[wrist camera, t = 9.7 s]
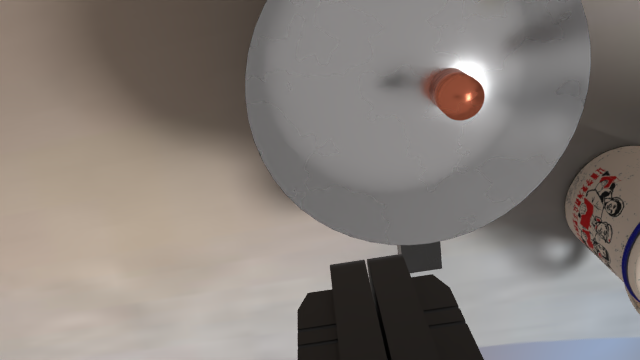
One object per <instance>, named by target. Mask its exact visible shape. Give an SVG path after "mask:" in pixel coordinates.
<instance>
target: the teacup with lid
mask: <svg viewBox="0 0 640 360" xmlns="http://www.w3.org/2000/svg"><path fill="white" fill-rule="evenodd" d="M565 215H566V220H567V223H568V225H569V227H570V229H571V230H572V232H573V233H574V234H575V236H576V237H577V238H578V239H579V240H580V241H582V242H583V243H584V244H585V245H586V246H587V247H588V248H589V249H590V250H591V251H592V252H593V253H594V254H595V255H596V256H597V257H598V258H599V259H600V260H601V261H602V262H603V263H604V264H605V265H606V266H607V267H608V268H609V269H610V270H611V271H612V272H613V273H615V274H616V275H617V276H618V277H619V278H620V279H621V280H622V281H623V282H624V284H625V288H626V291H627V294H628V296H629V298H630V301H631V302H632V304H633V306H634V307H635V309H636V310H637V312H638V313H639V314H640V146H625V147H620V148H616V149H613V150H610V151H607V152H605V153H603V154H601V155H599V156H598V157H596V158H595V159H593V160H592V161H591V162H589V163H588V164H587V165H586V166H585V167H584V168H583V169H582V170H581V171H580V172H579V173H578V175H577V176H576V177H575V179H574V180H573V182H572V184H571V186H570V188H569V190H568V193H567V197H566V202H565Z"/></svg>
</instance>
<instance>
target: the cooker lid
mask: <svg viewBox="0 0 640 360" xmlns="http://www.w3.org/2000/svg"><path fill="white" fill-rule="evenodd" d="M590 68H591V52H590V38H589V31H588V24H587V20H586V16H585V13H584V9H583V6H582V3H581V0H267V2H266V3H265V5H264V7H263V9H262V12H261V14H260V17H259V19H258V22H257V24H256V26H255V29H254V33H253V36H252V40H251V44H250V48H249V51H248V58H247V66H246V74H245V99H246V107H247V114H248V121H249V124H250V128H251V132H252V135H253V139H254V142H255V144H256V147H257V149H258V151H259V154H260V156H261V158H262V161H263V162H264V164H265V166H266V167H267V169H268V171H269V172H270V174H271V176H272V177H273V179H274V180H275V181H276V183H277V184H278V185H279V186H280V188H281V189H282V190H283V191H284V193H285V194H286V195H287V196H288V197H289V198H290V199H291V200H292V201H293V202H294V203H295V204H296V205H297V206H298V207H299V208H300V209H302V210H303V211H305V212H306V213H307V214H309V215H310V216H311V217H313V218H314V219H315V220H317V221H319V222H320V223H322V224H324V225H326V226H328V227H330V228H331V229H333V230H335V231H338V232H340V233H343V234H345V235H348V236H350V237H353V238H357V239H361V240H365V241H369V242H374V243H381V244H388V245H417V244H428V243H434V242H438V241H443V240H448V239H452V238H455V237H458V236H461V235H464V234H467V233H470V232H472V231H474V230H476V229H478V228H481V227H483V226H485V225H487V224H489V223H491V222H492V221H494V220H496V219H497V218H499V217H501V216H502V215H504V214H506V213H507V212H508V211H510V210H511V209H512V208H514V207H515V206H516V205H518V204H519V203H520V202H522V201H523V200H524V199H525V198H526V197H527V196H528V195H529V194H530V193H531V192H532V191H534V190H535V189H536V188H537V187H538V186H539V185H540V183H541V182H542V181H543V180H544V179H545V178H546V176H547V175H548V174H549V173H550V172H551V170H552V169H553V168H554V166H555V165H556V163H557V162H558V160H559V159H560V157H561V156H562V154H563V153H564V151H565V150H566V148H567V146H568V144H569V142H570V140H571V138H572V136H573V134H574V132H575V130H576V127H577V125H578V122H579V119H580V117H581V114H582V111H583V108H584V104H585V99H586V95H587V91H588V85H589V77H590Z"/></svg>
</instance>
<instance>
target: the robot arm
mask: <svg viewBox="0 0 640 360" xmlns="http://www.w3.org/2000/svg"><path fill="white" fill-rule="evenodd" d="M367 265H368V273H369V277H368V273H367V269H366V264H365V260H360V261H353V262H346V263H340V264H333V265H330V271H331V280H332V290H325V291H319V292H312V293H308V294H307V295H306V297H305V299H304V301H303V302H302V304H301V306H300V307H299V309H298V360H484V359H483V357H482V355H481V353H480V351H479V349H478V346H477V344H476V342H475V340H474V338H473V336H472V334H471V332H470V329H469V327H468V325H467V324H466V323H465V319H464V317H463V315H462V313H461V310H460V309H459V308H458V304H457V302H456V300H455V298H454V296H453V294H452V291H451V289H450V288H449V287H448V286H447V285H446V284H444V283H443V282H442V281H440V280H439V279H438V278H436V277H435V276H434V275H433V274H432V275H425V276H418V277H412V278H411V276H410V273H409V271H408V268H407V265H406V262H405V260H404V257H403V255H402V254H399V255H392V256H386V257H379V258H372V259H367ZM369 280H370V282H369Z"/></svg>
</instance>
